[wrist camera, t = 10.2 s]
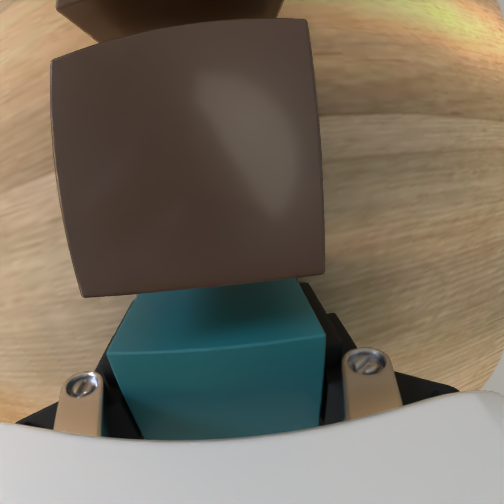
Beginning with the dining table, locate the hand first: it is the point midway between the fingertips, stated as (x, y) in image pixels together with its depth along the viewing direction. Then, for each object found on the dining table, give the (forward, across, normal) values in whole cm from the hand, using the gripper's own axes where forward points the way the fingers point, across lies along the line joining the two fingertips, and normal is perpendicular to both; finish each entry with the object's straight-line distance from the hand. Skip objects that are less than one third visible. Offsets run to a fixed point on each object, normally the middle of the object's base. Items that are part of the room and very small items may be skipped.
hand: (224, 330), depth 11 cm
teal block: (0, 0, 0) cm, 0 cm away
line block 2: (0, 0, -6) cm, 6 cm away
